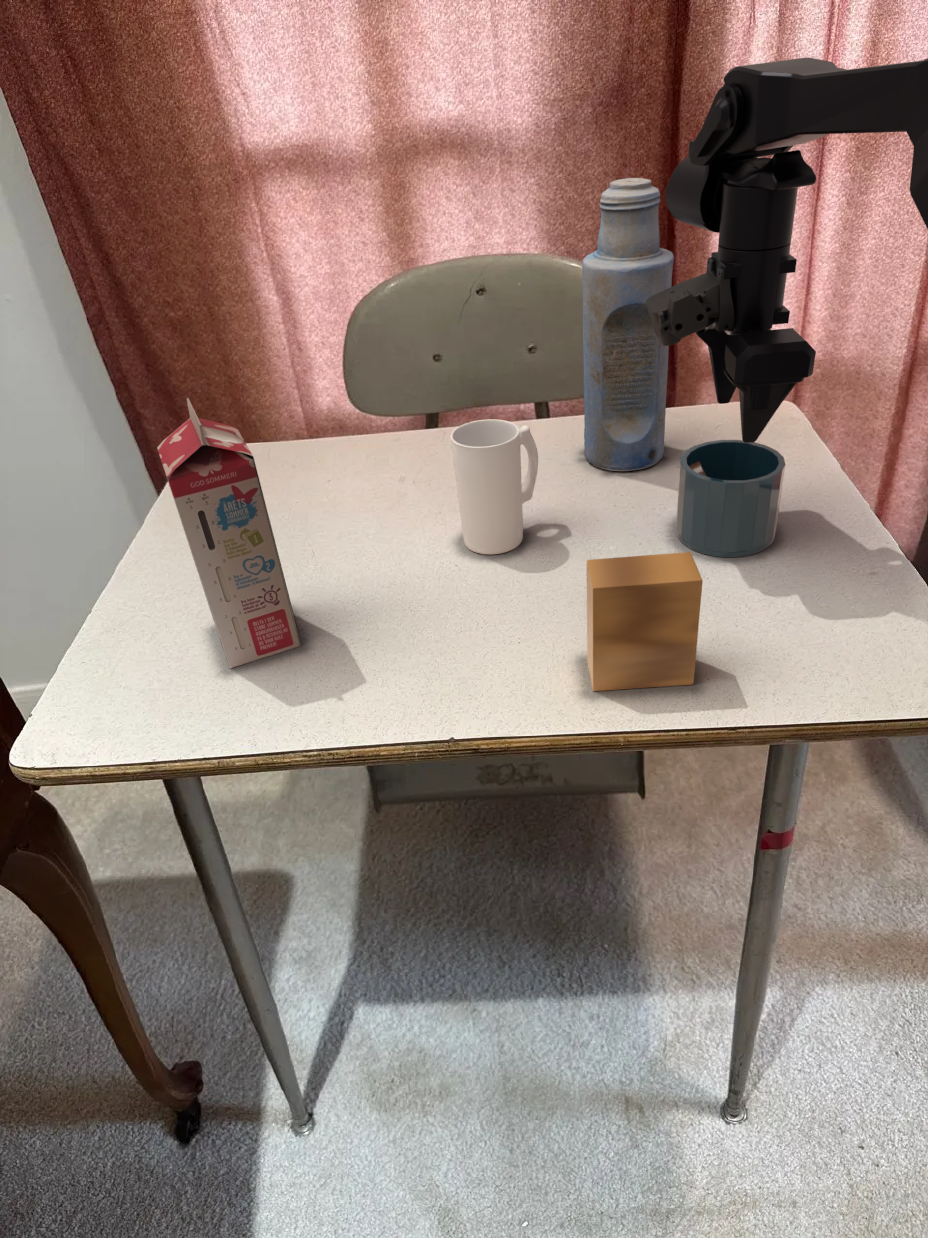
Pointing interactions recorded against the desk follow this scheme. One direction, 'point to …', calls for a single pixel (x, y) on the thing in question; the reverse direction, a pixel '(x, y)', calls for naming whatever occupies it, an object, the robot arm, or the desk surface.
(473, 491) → the mug
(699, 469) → the brown disc handle
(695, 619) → the wooden block
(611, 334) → the bottle
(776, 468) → the crock
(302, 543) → the desk surface
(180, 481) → the juice carton
